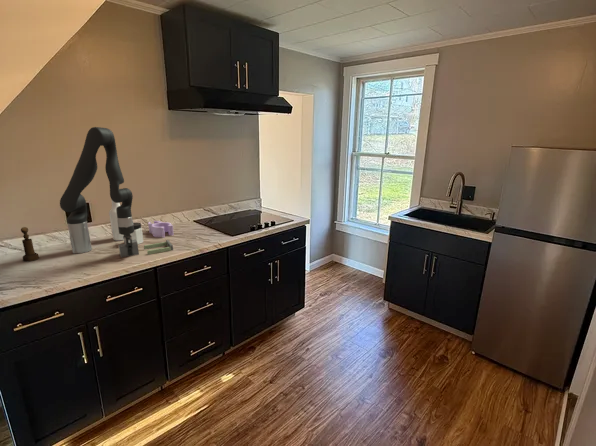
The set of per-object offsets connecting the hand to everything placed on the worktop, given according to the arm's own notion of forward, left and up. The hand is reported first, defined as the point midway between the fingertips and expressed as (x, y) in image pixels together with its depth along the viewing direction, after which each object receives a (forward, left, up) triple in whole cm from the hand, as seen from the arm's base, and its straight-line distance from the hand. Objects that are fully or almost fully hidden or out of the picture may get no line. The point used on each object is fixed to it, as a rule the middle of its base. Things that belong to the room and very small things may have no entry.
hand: (129, 253), depth 178 cm
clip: (+23, +31, -1) cm, 39 cm away
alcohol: (-1, +33, -1) cm, 33 cm away
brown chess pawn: (-45, +20, -1) cm, 49 cm away
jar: (+6, +20, -1) cm, 21 cm away
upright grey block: (0, 0, -1) cm, 1 cm away
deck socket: (+15, 0, -1) cm, 15 cm away
